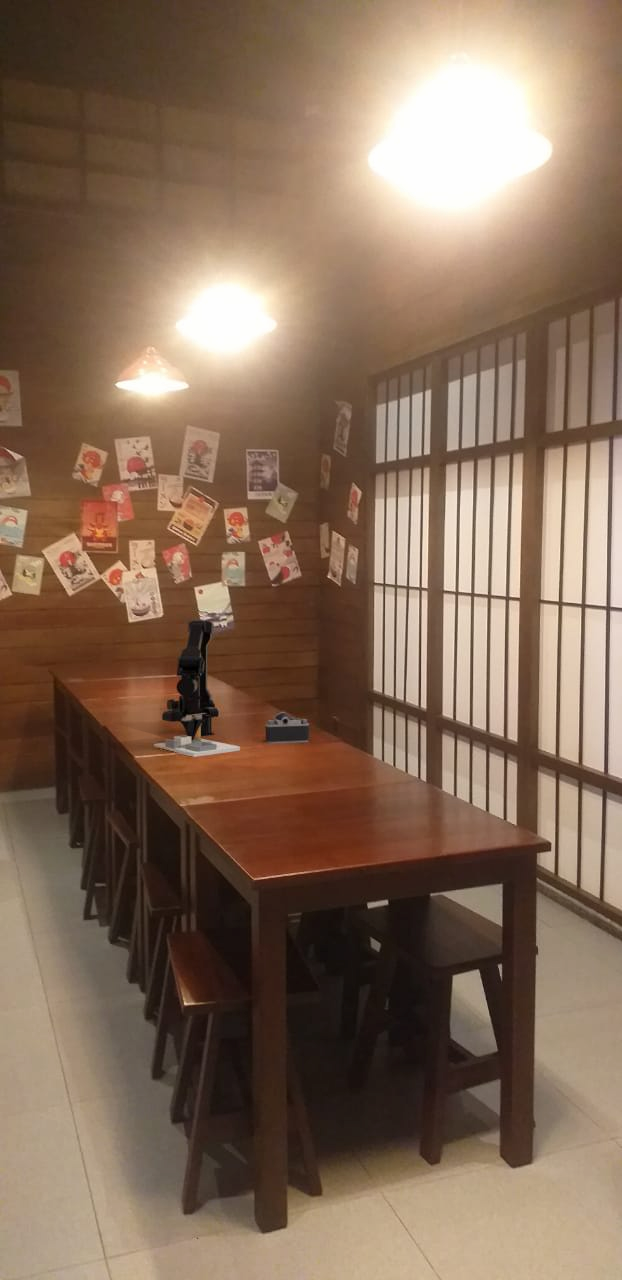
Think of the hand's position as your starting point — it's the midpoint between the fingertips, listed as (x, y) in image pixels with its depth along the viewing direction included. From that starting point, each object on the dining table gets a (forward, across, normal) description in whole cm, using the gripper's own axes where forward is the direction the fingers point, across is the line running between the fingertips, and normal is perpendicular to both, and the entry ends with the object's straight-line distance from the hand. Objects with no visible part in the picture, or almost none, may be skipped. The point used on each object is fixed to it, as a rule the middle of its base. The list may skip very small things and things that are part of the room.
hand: (190, 740), depth 317 cm
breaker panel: (+3, -1, +2) cm, 3 cm away
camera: (+3, -33, +8) cm, 35 cm away
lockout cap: (+1, -6, -6) cm, 9 cm away
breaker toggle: (+1, +3, 0) cm, 3 cm away
